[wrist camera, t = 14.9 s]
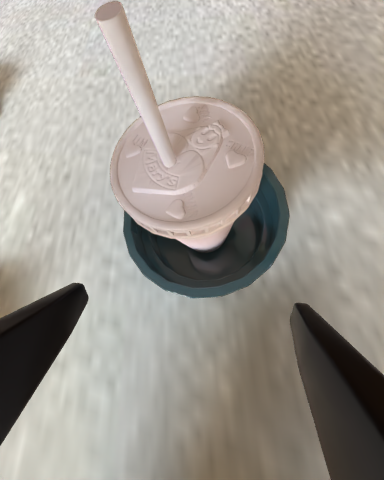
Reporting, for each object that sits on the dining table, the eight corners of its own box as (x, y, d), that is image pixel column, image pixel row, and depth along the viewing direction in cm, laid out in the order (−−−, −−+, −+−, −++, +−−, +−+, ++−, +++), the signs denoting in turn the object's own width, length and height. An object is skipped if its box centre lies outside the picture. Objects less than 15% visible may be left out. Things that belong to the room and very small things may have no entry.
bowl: (295, 209, 17) (320, 180, 12) (229, 326, 15) (231, 338, 11) (188, 161, 20) (179, 124, 16) (124, 253, 18) (93, 240, 14)
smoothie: (156, 225, 18) (-44, 18, 5) (213, 185, 18) (181, -127, 5) (196, 284, 16) (42, 222, 2) (259, 238, 16) (432, -46, 3)
